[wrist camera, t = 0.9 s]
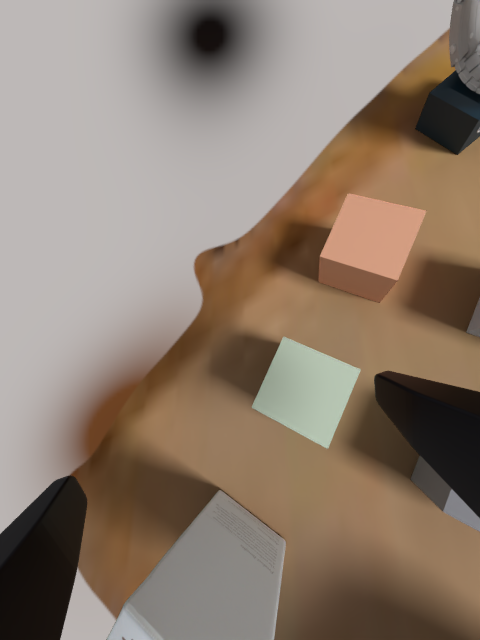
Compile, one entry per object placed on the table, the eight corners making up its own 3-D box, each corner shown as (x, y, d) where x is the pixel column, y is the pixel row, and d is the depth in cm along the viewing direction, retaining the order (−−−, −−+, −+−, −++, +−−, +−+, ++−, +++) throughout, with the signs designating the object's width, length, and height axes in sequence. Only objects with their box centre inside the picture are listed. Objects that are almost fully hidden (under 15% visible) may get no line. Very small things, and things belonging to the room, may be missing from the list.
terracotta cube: (402, 247, 22) (426, 210, 17) (379, 303, 21) (397, 280, 17) (341, 231, 24) (348, 193, 19) (318, 282, 23) (319, 256, 18)
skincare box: (194, 537, 21) (52, 719, 10) (221, 483, 21) (116, 598, 10) (263, 597, 19) (188, 919, 8) (292, 537, 19) (262, 758, 8)
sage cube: (350, 372, 21) (360, 369, 16) (324, 433, 20) (327, 448, 16) (289, 346, 22) (283, 336, 18) (264, 402, 22) (251, 407, 17)
